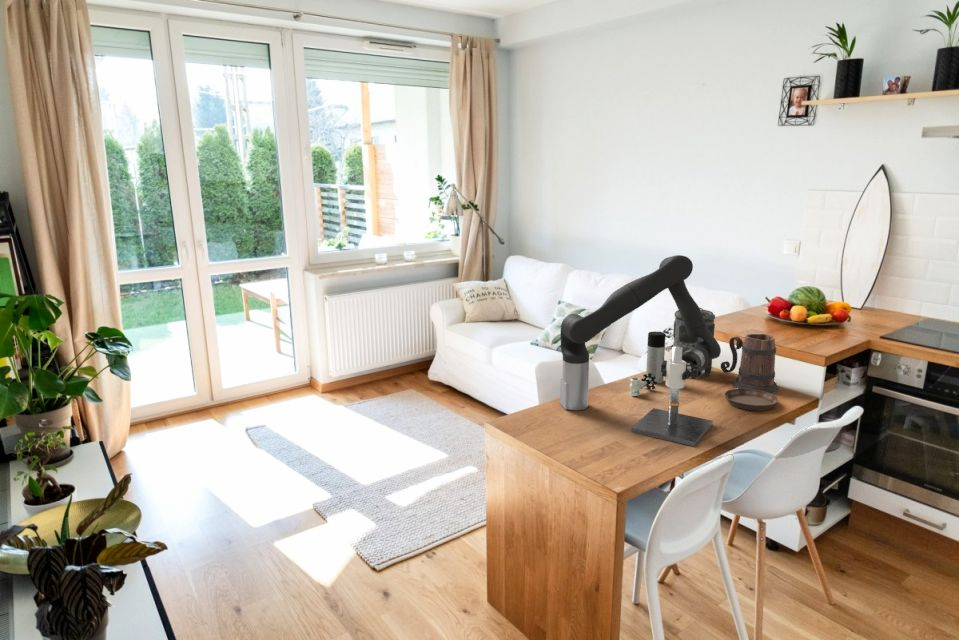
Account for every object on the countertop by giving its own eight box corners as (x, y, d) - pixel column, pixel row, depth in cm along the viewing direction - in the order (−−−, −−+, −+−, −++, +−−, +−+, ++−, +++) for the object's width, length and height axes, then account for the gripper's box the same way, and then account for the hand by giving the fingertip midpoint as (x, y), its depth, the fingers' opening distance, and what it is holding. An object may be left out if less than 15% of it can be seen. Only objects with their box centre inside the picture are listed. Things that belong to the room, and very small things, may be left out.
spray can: (665, 384, 240) (668, 335, 235) (647, 384, 240) (650, 335, 235) (660, 378, 246) (663, 330, 242) (643, 378, 246) (646, 331, 242)
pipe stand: (694, 446, 185) (700, 360, 178) (631, 431, 196) (634, 349, 190) (712, 424, 200) (718, 344, 194) (653, 412, 212) (657, 335, 205)
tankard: (788, 387, 234) (793, 337, 229) (763, 396, 225) (768, 344, 220) (733, 372, 253) (737, 325, 248) (708, 380, 244) (712, 332, 239)
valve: (638, 399, 225) (657, 391, 232) (639, 382, 223) (657, 375, 231) (623, 394, 229) (642, 387, 237) (624, 378, 228) (643, 371, 236)
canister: (718, 372, 252) (723, 307, 246) (697, 381, 243) (702, 312, 236) (684, 364, 264) (689, 301, 258) (663, 371, 255) (667, 306, 248)
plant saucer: (713, 399, 224) (713, 391, 223) (750, 392, 230) (751, 385, 229) (749, 416, 208) (750, 408, 207) (788, 408, 214) (789, 400, 213)
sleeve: (680, 389, 191) (682, 365, 189) (663, 386, 194) (665, 362, 192) (686, 384, 195) (687, 361, 194) (669, 381, 199) (670, 358, 197)
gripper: (670, 348, 209) (652, 360, 196) (713, 354, 201) (697, 367, 187) (668, 369, 211) (651, 382, 197) (711, 376, 203) (696, 390, 189)
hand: (674, 375), depth 193 cm, fingers closed on sleeve, 5 cm apart
